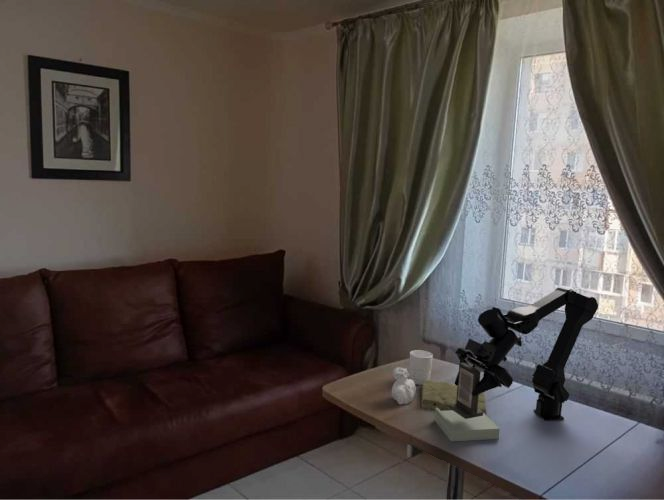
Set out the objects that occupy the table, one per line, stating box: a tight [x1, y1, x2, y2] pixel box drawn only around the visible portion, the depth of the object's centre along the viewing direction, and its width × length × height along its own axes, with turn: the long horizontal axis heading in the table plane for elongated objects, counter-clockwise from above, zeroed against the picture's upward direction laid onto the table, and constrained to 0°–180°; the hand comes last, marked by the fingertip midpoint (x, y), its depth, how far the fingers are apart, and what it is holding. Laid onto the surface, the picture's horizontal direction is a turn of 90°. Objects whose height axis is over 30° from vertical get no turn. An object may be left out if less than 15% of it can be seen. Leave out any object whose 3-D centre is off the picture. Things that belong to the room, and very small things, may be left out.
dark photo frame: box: [450, 362, 483, 419], centre depth 145 cm, size 6×7×13 cm
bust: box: [391, 367, 417, 405], centre depth 167 cm, size 12×8×11 cm
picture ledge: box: [434, 408, 500, 442], centre depth 149 cm, size 14×12×4 cm
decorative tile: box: [421, 380, 488, 417], centre depth 167 cm, size 18×20×4 cm
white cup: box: [409, 349, 434, 386], centre depth 182 cm, size 8×8×10 cm
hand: (463, 389), depth 145 cm, fingers closed on dark photo frame, 7 cm apart
